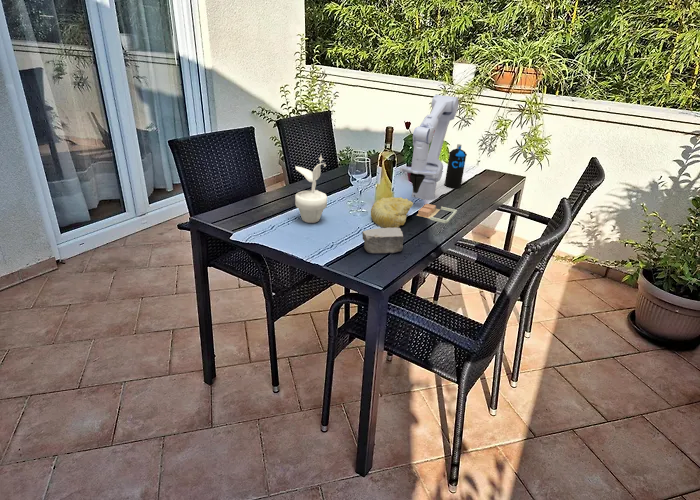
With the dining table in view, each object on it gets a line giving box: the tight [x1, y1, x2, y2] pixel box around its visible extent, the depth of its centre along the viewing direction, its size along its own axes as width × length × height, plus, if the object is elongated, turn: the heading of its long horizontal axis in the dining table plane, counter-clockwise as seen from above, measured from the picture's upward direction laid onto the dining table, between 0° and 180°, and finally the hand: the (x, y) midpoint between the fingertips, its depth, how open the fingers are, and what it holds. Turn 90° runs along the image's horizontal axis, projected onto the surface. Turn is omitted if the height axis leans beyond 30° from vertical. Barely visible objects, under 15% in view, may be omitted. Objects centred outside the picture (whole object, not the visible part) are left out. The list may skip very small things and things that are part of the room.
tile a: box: [422, 203, 437, 213], centre depth 181 cm, size 4×4×2 cm
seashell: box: [370, 196, 414, 228], centre depth 169 cm, size 17×11×15 cm
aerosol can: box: [443, 143, 467, 190], centre depth 213 cm, size 8×8×20 cm
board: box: [416, 208, 441, 220], centre depth 180 cm, size 6×12×2 cm, turn 152°
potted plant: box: [294, 155, 328, 224], centre depth 164 cm, size 13×12×25 cm
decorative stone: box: [361, 227, 404, 255], centre depth 149 cm, size 15×7×10 cm
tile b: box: [417, 207, 432, 218], centre depth 177 cm, size 4×4×2 cm
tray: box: [429, 206, 458, 225], centre depth 177 cm, size 6×14×2 cm, turn 152°
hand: (415, 192), depth 181 cm, fingers closed
